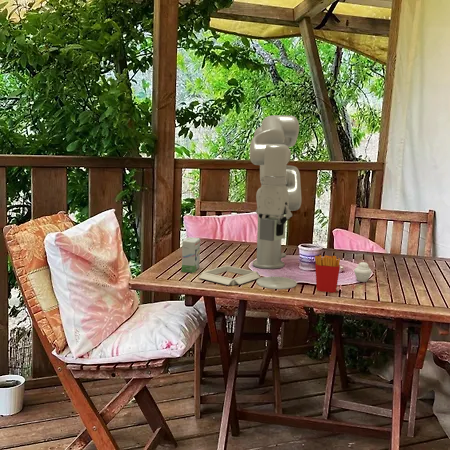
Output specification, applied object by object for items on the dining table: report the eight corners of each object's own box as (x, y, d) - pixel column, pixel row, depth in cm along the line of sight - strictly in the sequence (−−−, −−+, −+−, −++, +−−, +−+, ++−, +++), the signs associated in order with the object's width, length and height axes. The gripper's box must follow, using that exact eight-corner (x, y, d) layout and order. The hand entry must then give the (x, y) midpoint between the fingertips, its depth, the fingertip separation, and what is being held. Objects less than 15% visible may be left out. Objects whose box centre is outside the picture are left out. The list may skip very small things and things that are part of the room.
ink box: (187, 266, 207) (187, 236, 205) (200, 267, 206) (200, 237, 204) (181, 272, 199) (181, 241, 197) (194, 272, 198) (194, 241, 196)
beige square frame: (225, 268, 205) (225, 263, 205) (265, 277, 194) (265, 271, 193) (193, 277, 191) (193, 272, 191) (234, 287, 179) (234, 281, 179)
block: (273, 236, 188) (274, 216, 187) (285, 238, 185) (285, 218, 184) (259, 239, 182) (260, 218, 181) (271, 241, 179) (272, 220, 178)
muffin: (359, 283, 187) (360, 264, 186) (350, 279, 193) (351, 260, 192) (374, 282, 189) (375, 263, 188) (365, 278, 195) (366, 259, 194)
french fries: (339, 290, 179) (341, 255, 177) (338, 293, 175) (340, 257, 173) (313, 287, 181) (315, 253, 179) (312, 290, 178) (313, 255, 176)
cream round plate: (271, 276, 195) (271, 274, 195) (304, 283, 187) (304, 281, 187) (248, 283, 185) (248, 282, 184) (282, 291, 176) (282, 289, 176)
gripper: (248, 180, 183) (246, 232, 186) (289, 183, 172) (287, 239, 175) (261, 179, 189) (259, 230, 192) (301, 182, 178) (299, 236, 181)
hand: (272, 233), depth 183 cm, fingers closed on block, 5 cm apart
